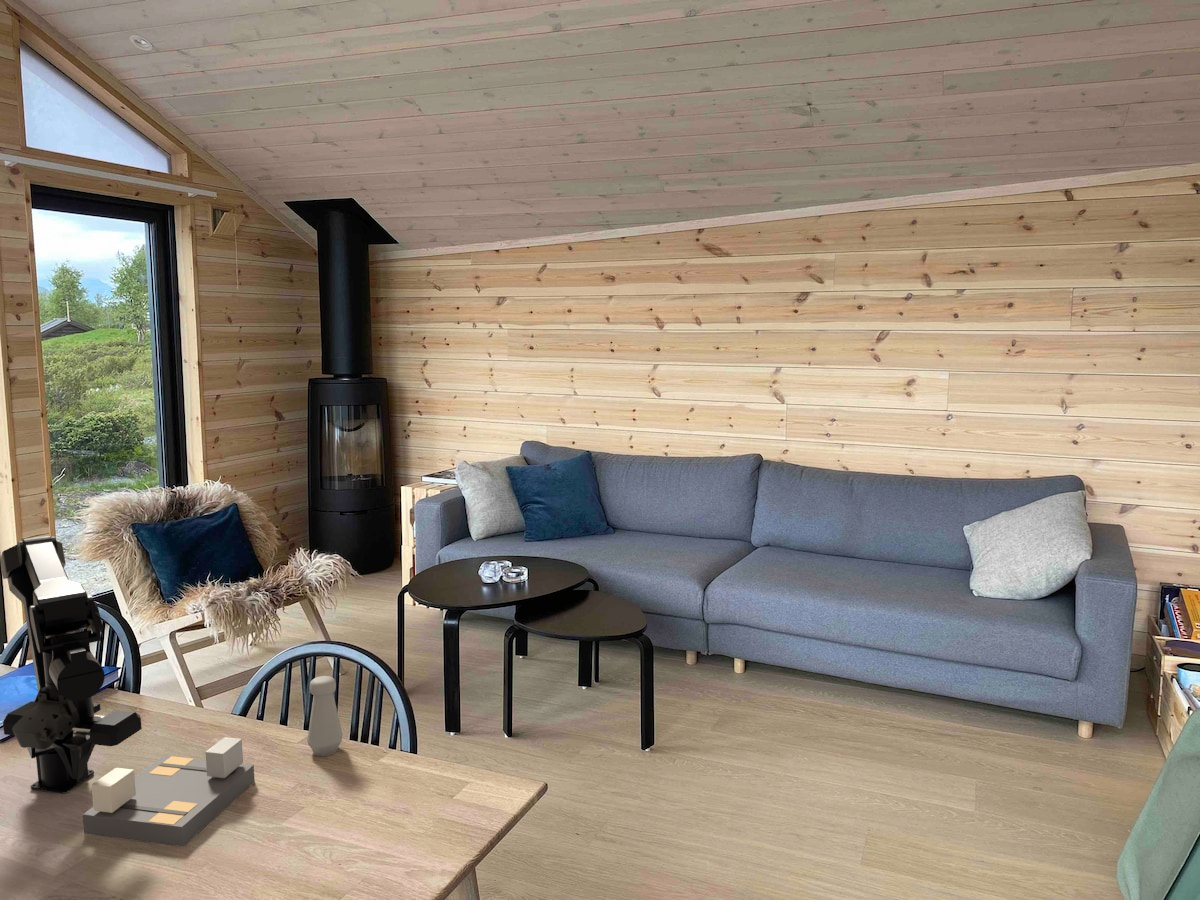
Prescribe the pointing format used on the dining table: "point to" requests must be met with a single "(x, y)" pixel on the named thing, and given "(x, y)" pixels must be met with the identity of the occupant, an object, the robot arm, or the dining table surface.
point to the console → (171, 802)
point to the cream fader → (113, 790)
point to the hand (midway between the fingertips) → (77, 777)
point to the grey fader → (224, 757)
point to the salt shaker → (324, 718)
